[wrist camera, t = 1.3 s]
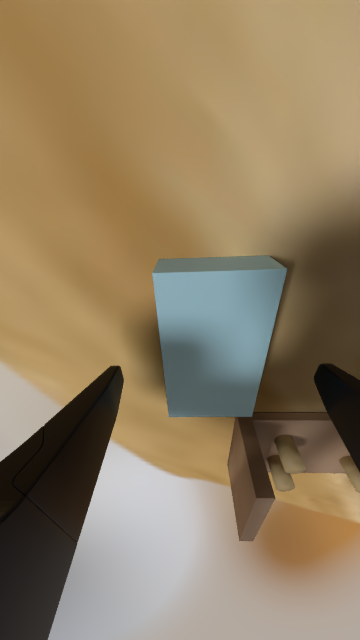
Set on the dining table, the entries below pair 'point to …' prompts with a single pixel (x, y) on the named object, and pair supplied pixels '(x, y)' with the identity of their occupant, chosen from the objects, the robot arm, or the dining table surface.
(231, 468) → the cradle
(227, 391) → the block
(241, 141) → the dining table surface
